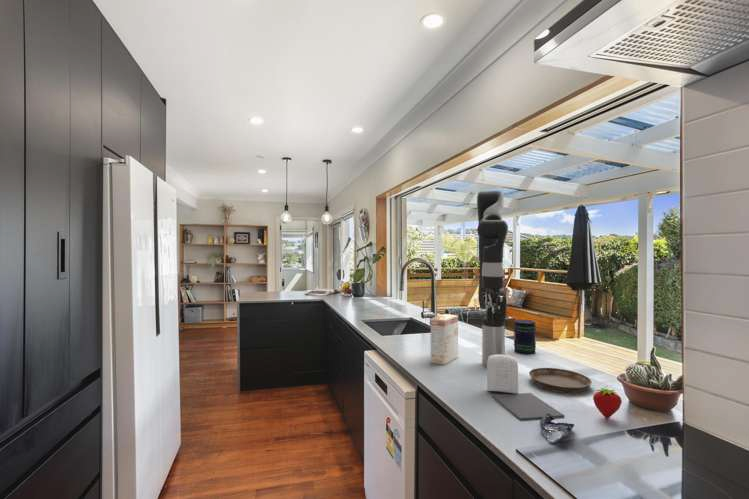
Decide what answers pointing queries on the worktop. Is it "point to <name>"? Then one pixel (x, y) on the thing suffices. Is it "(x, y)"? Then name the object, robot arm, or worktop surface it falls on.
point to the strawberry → (607, 402)
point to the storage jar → (524, 337)
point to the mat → (526, 406)
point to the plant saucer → (560, 380)
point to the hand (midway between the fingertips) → (492, 321)
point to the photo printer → (502, 373)
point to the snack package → (554, 427)
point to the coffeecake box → (444, 338)
